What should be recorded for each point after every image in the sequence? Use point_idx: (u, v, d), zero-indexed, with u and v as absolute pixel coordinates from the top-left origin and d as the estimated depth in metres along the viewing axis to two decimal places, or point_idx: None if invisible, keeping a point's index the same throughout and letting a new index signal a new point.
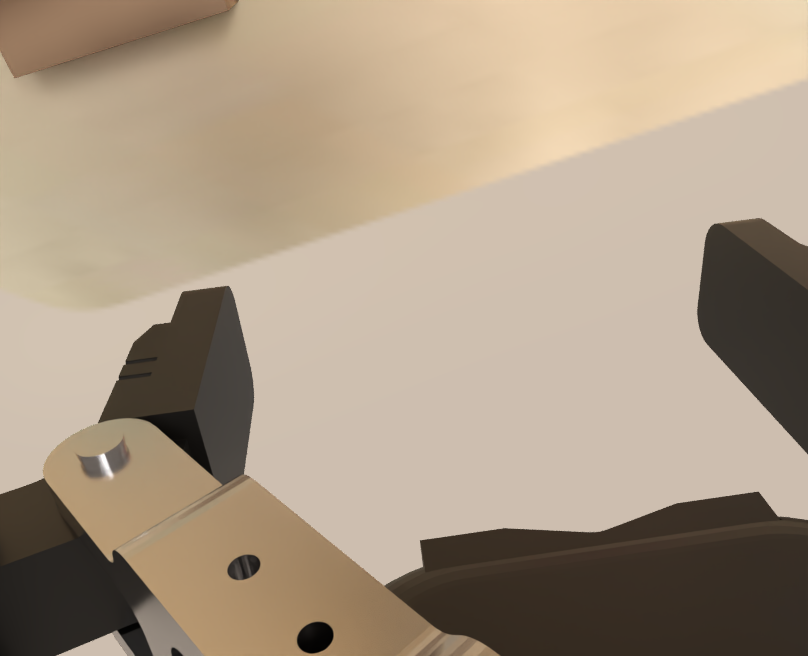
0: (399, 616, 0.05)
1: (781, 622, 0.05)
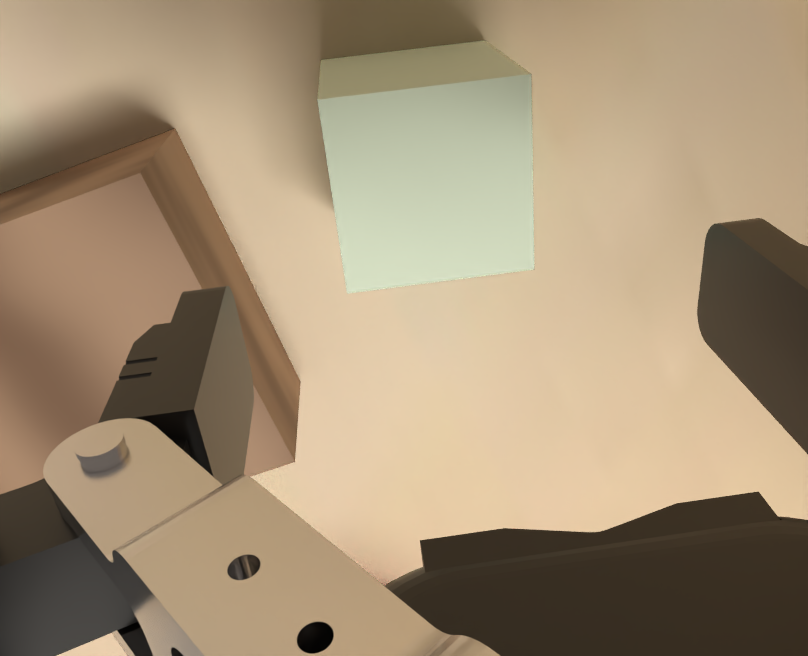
0: (399, 616, 0.05)
1: (780, 622, 0.05)
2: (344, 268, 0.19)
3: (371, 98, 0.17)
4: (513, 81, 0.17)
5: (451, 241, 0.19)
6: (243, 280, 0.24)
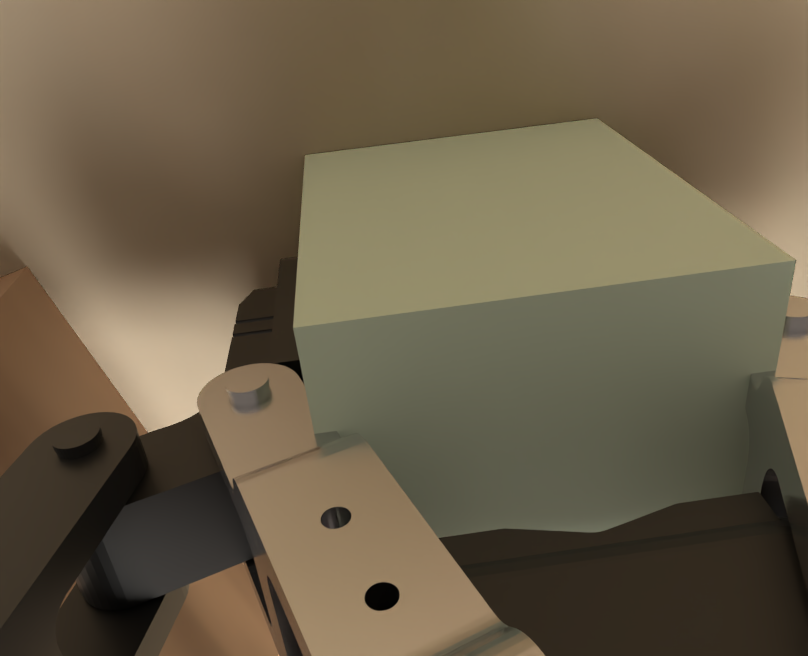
0: (464, 596, 0.05)
1: (781, 622, 0.05)
2: None
3: (421, 322, 0.07)
4: (749, 274, 0.07)
5: None
6: None
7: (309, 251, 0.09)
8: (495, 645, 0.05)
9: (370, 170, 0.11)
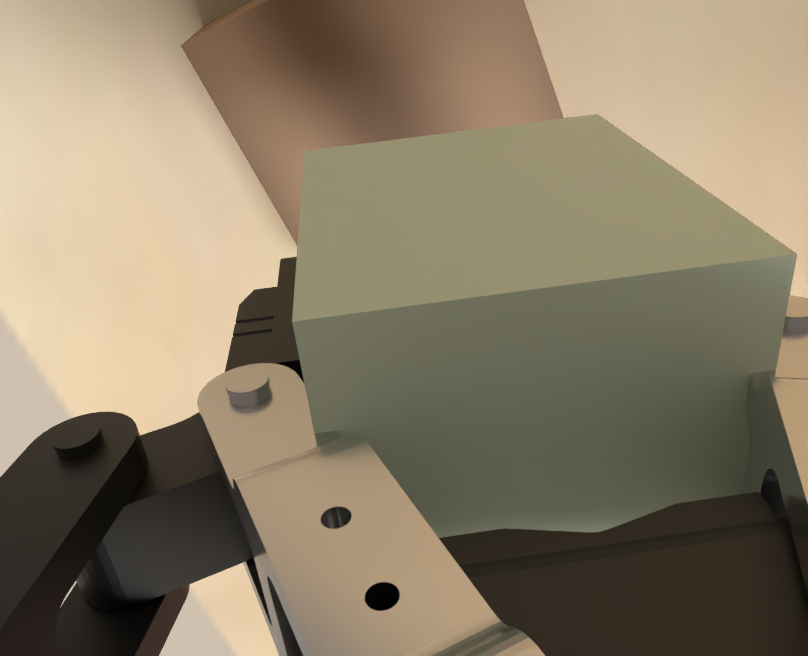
0: (464, 597, 0.05)
1: (781, 622, 0.05)
2: None
3: (421, 315, 0.07)
4: (750, 268, 0.07)
5: None
6: None
7: (308, 246, 0.09)
8: (495, 646, 0.05)
9: (370, 166, 0.11)
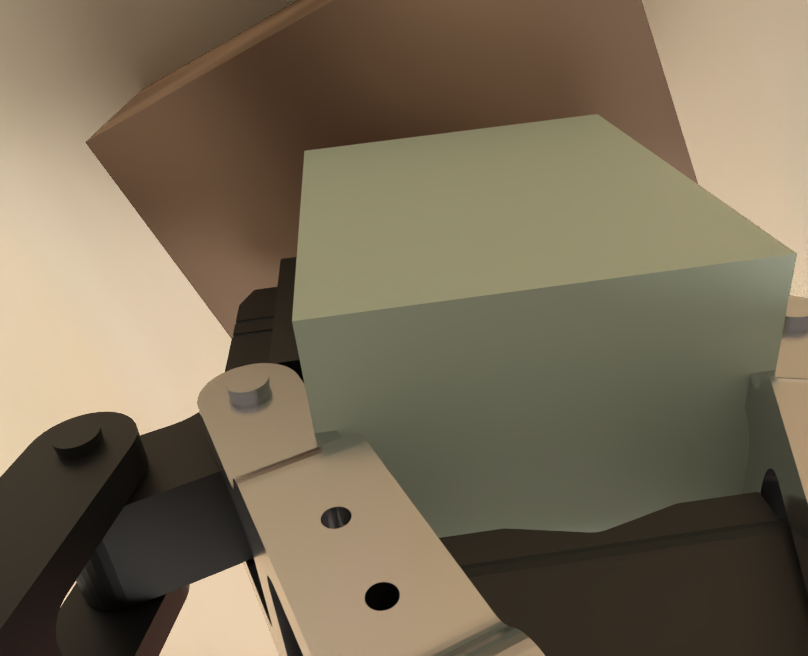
0: (465, 596, 0.05)
1: (781, 622, 0.05)
2: None
3: (422, 315, 0.07)
4: (750, 268, 0.07)
5: None
6: None
7: (308, 245, 0.09)
8: (495, 646, 0.05)
9: (370, 165, 0.11)
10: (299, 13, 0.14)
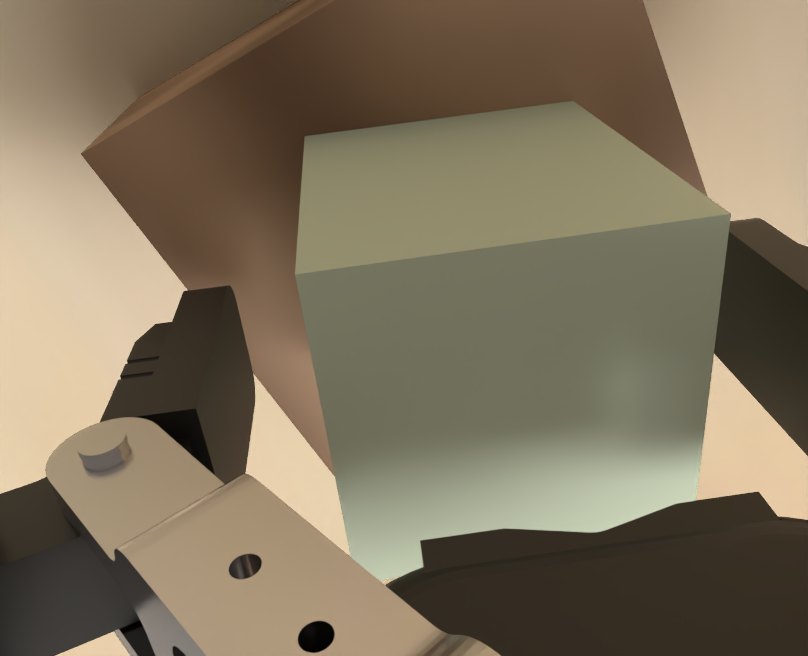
0: (400, 616, 0.05)
1: (781, 622, 0.05)
2: (351, 548, 0.10)
3: (406, 269, 0.08)
4: (691, 227, 0.08)
5: (547, 498, 0.10)
6: None
7: (308, 215, 0.10)
8: None
9: (364, 148, 0.12)
10: (294, 18, 0.13)
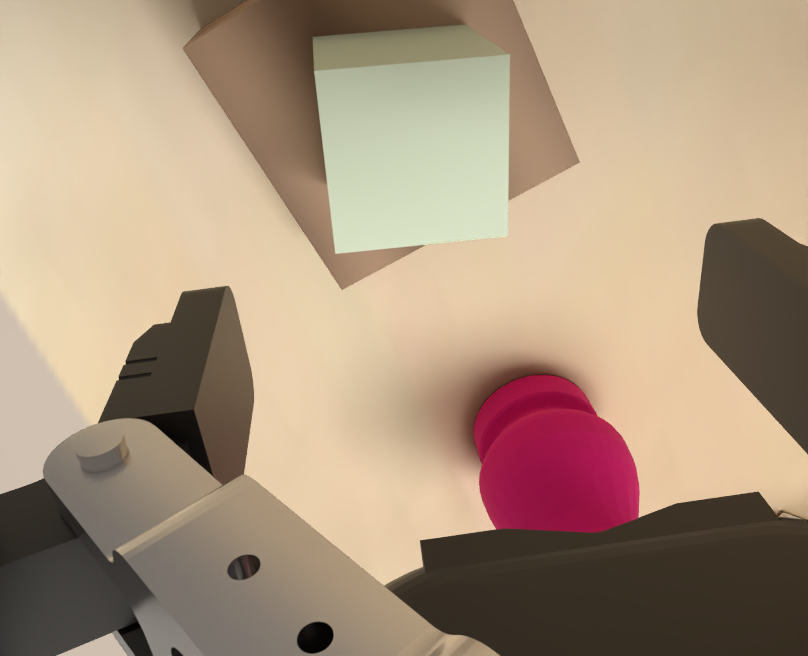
0: (400, 616, 0.05)
1: (781, 622, 0.05)
2: (333, 230, 0.20)
3: (364, 72, 0.19)
4: (493, 61, 0.19)
5: (432, 207, 0.20)
6: None
7: (318, 58, 0.20)
8: None
9: (346, 40, 0.22)
10: None
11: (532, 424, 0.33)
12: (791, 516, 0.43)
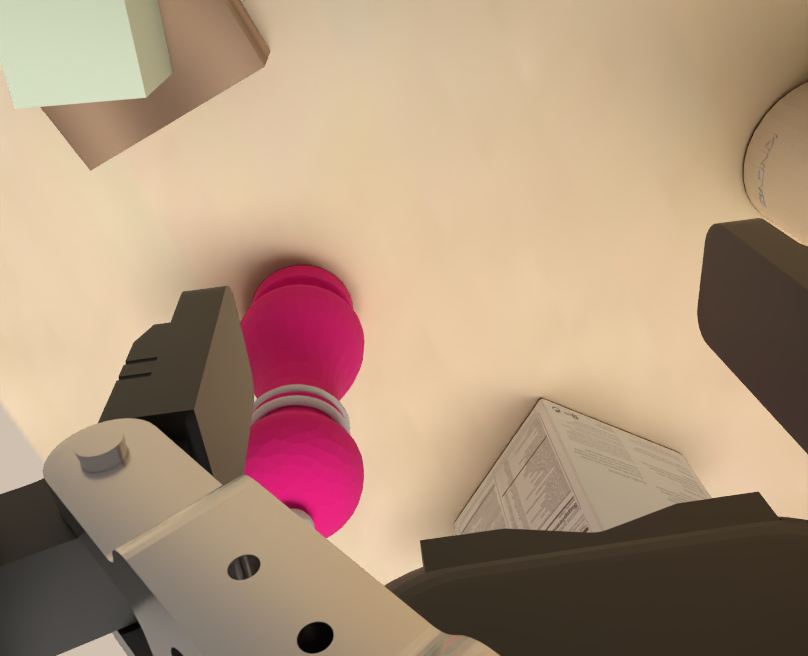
0: (399, 616, 0.05)
1: (781, 622, 0.05)
2: (9, 89, 0.28)
3: None
4: None
5: (81, 73, 0.28)
6: None
7: None
8: None
9: None
10: None
11: (270, 294, 0.40)
12: (548, 401, 0.51)
